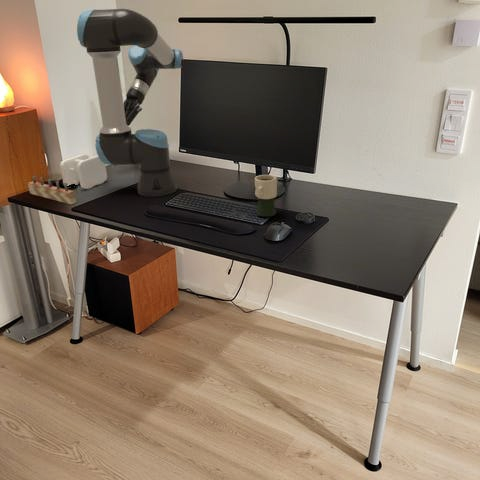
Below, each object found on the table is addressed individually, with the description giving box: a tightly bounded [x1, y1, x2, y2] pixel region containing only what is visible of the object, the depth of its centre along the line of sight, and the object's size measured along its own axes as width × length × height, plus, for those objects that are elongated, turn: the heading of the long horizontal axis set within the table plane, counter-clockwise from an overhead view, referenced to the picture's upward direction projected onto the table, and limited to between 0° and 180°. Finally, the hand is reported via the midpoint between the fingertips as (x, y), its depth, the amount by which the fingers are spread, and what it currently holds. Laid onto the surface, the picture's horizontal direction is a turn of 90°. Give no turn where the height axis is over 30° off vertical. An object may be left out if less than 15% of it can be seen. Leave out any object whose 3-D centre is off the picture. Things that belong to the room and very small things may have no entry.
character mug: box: [254, 174, 278, 217], centre depth 161 cm, size 11×7×13 cm, turn 153°
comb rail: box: [27, 175, 78, 205], centre depth 187 cm, size 26×2×7 cm, turn 55°
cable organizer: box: [59, 153, 108, 190], centre depth 200 cm, size 15×11×12 cm
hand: (113, 138), depth 210 cm, fingers closed
